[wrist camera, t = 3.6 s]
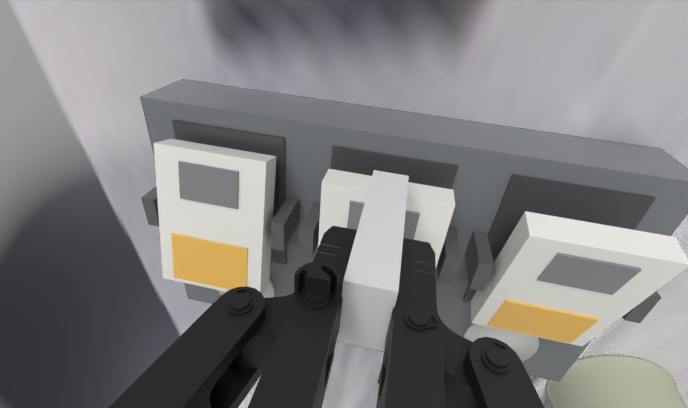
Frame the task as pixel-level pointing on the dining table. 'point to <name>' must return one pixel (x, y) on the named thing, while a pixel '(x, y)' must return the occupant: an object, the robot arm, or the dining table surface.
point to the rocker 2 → (573, 277)
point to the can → (614, 385)
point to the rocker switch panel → (428, 169)
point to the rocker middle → (420, 218)
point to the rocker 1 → (214, 214)
